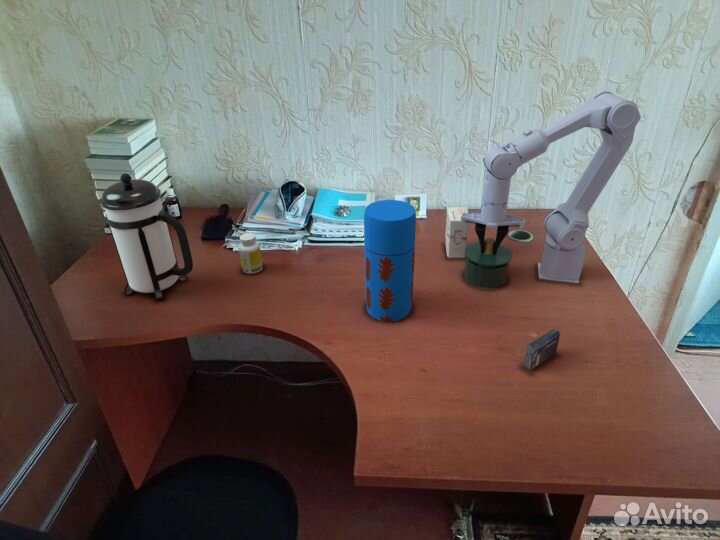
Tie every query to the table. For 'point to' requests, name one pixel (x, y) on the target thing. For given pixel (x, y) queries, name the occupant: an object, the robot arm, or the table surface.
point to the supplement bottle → (250, 254)
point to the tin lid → (488, 254)
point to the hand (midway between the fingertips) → (488, 251)
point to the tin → (485, 274)
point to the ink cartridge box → (456, 232)
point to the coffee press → (144, 236)
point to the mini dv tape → (541, 349)
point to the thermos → (389, 258)
